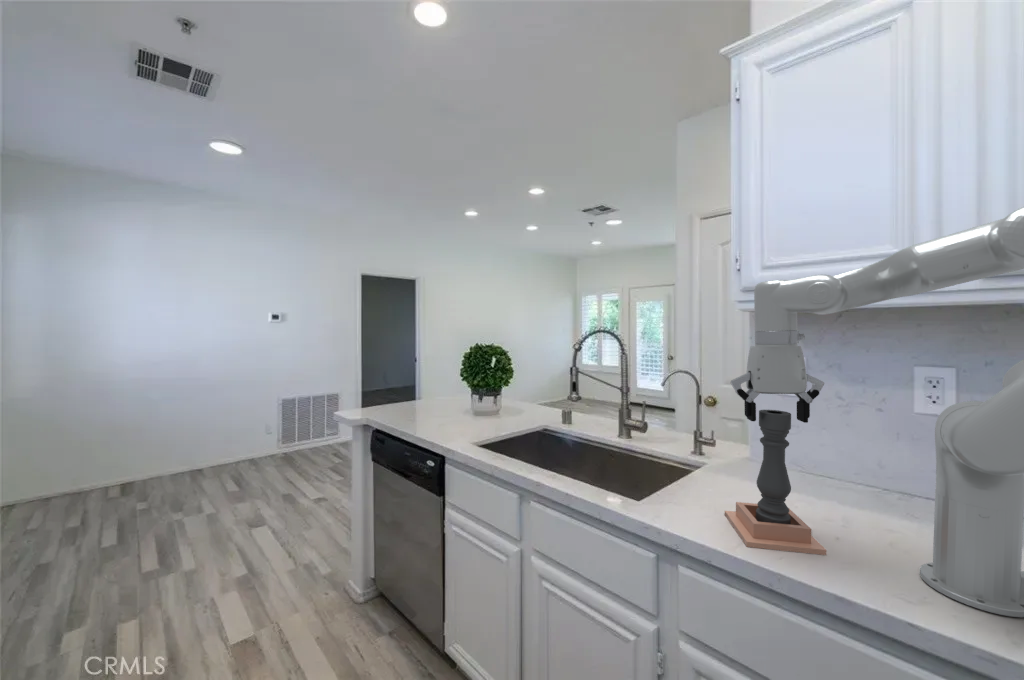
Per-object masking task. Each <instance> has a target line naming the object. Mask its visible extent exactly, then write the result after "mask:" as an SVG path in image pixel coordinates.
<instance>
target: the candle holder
mask: <svg viewBox="0 0 1024 680" xmlns="http://www.w3.org/2000/svg"><path fill="white" fill-rule="evenodd" d="M758 426H759V427H760V429H759V430H760V431H761V434H762V435H763V436H762V437H760V438H759V442H760V443H761V444H762V447H763V448H762V449H763V451H762V455H763V458H762V462H761V466H760V469H759V473H758V475H757V478H756V485H757V486H756V487H757V488H758V490H759V492H760V496H761V499H760V500H759V501H758V502H757V503H756V504H757V505H758V507H759V508H757V509H756V520H757V521H758V522H768V523H779V524H790V525H791V517H790V515H789V514H788V513H789V509H790V507H788V505H787V503H785V502H786V500H787V498H788V496H789V495H790V493H791V491H792V486H791V482H790V477H789V474H788V470H787V469H788V468H787V465H786V449H787V448H788V447H789V446H790V442H789V441H788V440H787V439H786V438H787V437H788V434H789V433H790V430H791V429H792V413H791V412H788V411H783V410H776V409H760V410H758Z"/></svg>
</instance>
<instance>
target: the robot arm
mask: <svg viewBox="0 0 1024 680" xmlns="http://www.w3.org/2000/svg"><path fill="white" fill-rule="evenodd" d="M1021 270H1024V206H1023V207H1019V208H1018V209H1016V210H1014V211H1013V212H1011V213H1009V214H1008V215H1006V216H1005V217H1004V218H1000V219H998V220H994V221H990V222H987V223H984V224H980V225H977V226H974V227H970V228H968V229H963V230H961V231H958V232H957V231H956V232H954V233H952V234H947V235H944V236H940V237H937V238H933V239H930V240H926V241H923V242H919V243H916V244H912V245H910V246H908V247H905V248H902V249H901V250H898V251H896V252H895V253H893V254H890V255H889V256H887V257H885V258H883V259H881V260H879V261H877V262H874V263H871V264H869V265H866V266H862V267H860V268H857V269H854V270H850V271H847V272H844V273H840V274H837V275H830V274H815V275H808V276H804V277H799V278H794V279H776V280H765V281H760V282H759V283H757V284H756V285H755V286H754V290H753V291H754V292H753V293H754V294H753V295H754V297H753V298H754V302H753V303H754V305H753V306H754V309H753V310H754V345H751V346H750V347H749V351H748V356H747V363H746V373H744V374H742V375H740V376H738V377H736V378H733V379H732V380H730V384H731V386H732V388H733V390H734V391H735V394H737V396H739V397H740V398H741V399H742V400H743V401H744V417H746V419H747V420H748V421H751V422H756V421H757V405H756V402H754V400H755V399H756V398H757V397H758V396H759V395H760V394H765V395H766V394H768V395H771V394H772V395H794V396H795V397H796V398H798V400H797V401H796V420H798V421H800V422H801V423H802V422H803V423H805V424H808V422H809V419H810V417H811V414H810V412H811V408H810V406H811V404H812V403H813V401H814V400H815V399H816V398H817V397H818V396H819V395H820V392H821V391H822V389H823V387H824V385H825V382H824V381H823V380H821V379H818V378H817V377H815V376H812V375H810V374H808V373H807V368H806V361H805V356H804V352H803V348H802V346H801V345H798V344H799V342H800V341H804V340H805V339H806V336H805V334H804V333H801V332H800V331H799V330H798V313H807V314H808V313H809V314H815V315H829V314H834V313H839V312H842V311H843V312H844V311H847V310H851V309H855V308H859V307H863V306H868V305H871V304H876V303H879V302H884V301H889V300H893V299H897V298H905V297H911V296H916V295H920V294H923V293H928V292H932V291H936V290H941V289H945V288H949V287H953V286H957V285H960V284H965V283H969V282H973V281H978V280H982V279H986V278H990V277H991V278H992V277H995V276H996V277H997V276H999V275H1003V274H1004V275H1005V274H1008V273H1011V272H1016V271H1021ZM807 382H808V383H809V384H811V385H812V386H811V388H810V389H809V390H807V387H808V384H807ZM743 383H746V384H745V386H746V389H747V391H745V390H744V389H743V388H742V386H741V384H743ZM934 445H935V447H934V448H935V489H934V490H935V491H934V513H933V514H934V517H933V519H934V520H933V542H932V543H933V546H932V562H926V563H924V564H922V565H920V567H919V575H920V578H921V579H922V580H923V581H924V582H925V583H926V584H927V585H928V586H929V587H931V588H933V589H934V590H936V591H937V592H938V593H941V594H943V595H944V596H946V597H948V598H950V599H952V600H954V601H956V602H959V603H962V604H965V605H966V606H969V607H973V608H975V609H978V610H982V611H985V612H988V613H991V614H997V615H1000V616H1006V617H1010V618H1011V617H1012V618H1013V617H1014V618H1024V570H1022V563H1023V561H1022V560H1023V539H1024V538H1023V537H1024V535H1023V534H1024V533H1023V532H1024V358H1023V359H1022V360H1020V361H1019V362H1016V363H1015V364H1014V365H1013V366H1011V367H1010V368H1009V369H1008V370H1007V371H1006V373H1005V374H1004V376H1003V378H1002V389H1001V390H1000V391H998V392H996V393H995V394H994V395H992V396H991V397H990V398H988V399H986V400H985V401H979V400H977V401H976V400H969V401H968V400H967V401H961V402H957V403H955V404H954V403H953V404H952V405H950V406H948V407H946V408H945V409H943V410H942V411H941V413H939V415H938V417H937V419H936V422H935V427H934Z"/></svg>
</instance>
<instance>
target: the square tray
mask: <svg viewBox="0 0 1024 680" xmlns="http://www.w3.org/2000/svg"><path fill="white" fill-rule="evenodd" d="M757 508H759V507H758V505H757V503H753V502H751V503H750V502H741V501H736V502H735V511H732V510H724V516H725V518H726V519H727V521H728V522H729V523H730V525H731V526H732V528H733V529H734V530H735V532H736V533H737V534H738V536H739V537H740V539H741V541H742V540H743V541H742V543H743V544H744V545H745V547H747V548H753V549H763V548H764V550H772V549H773V550H772V551H784V552H794V553H803V554H812V555H821V556H827V552H828V550H827V549H826V548H825V547H824V546H823V545H822V544H821V543H820V542H819V541H818V540H817V539H816V538H815V537H814V536H813V535H812V528H811V527H810V526H809V525H807V524H806V523H805V521H804V520H802V519H801V518H800V517H799V516H798V515H797V514H796V513H795V512H794V511H793V510H791V509H790V508H789V513H788V514H789V515H790V517H791V525H790V524H779V523H768V522H758V521H757V520H756V509H757Z"/></svg>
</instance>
